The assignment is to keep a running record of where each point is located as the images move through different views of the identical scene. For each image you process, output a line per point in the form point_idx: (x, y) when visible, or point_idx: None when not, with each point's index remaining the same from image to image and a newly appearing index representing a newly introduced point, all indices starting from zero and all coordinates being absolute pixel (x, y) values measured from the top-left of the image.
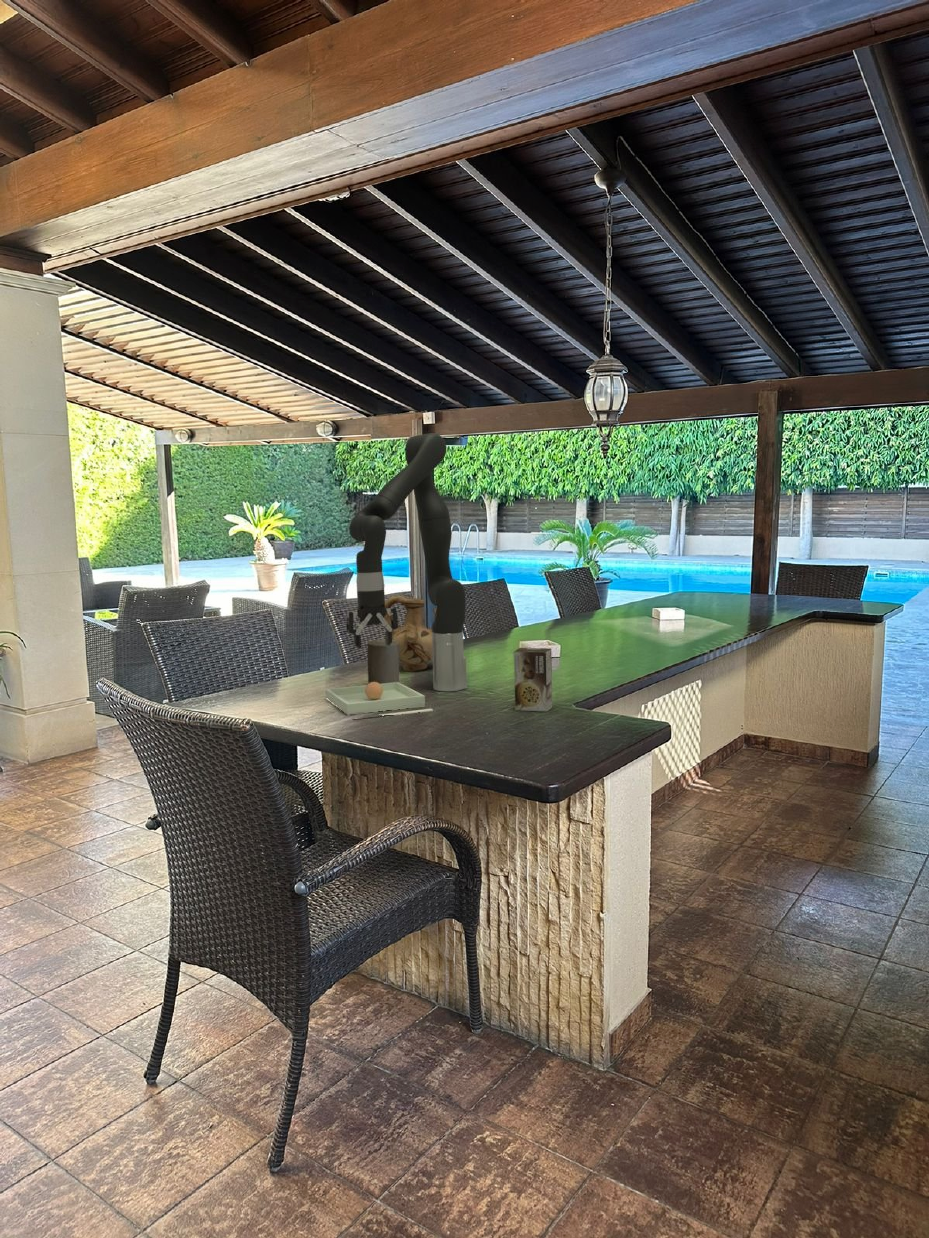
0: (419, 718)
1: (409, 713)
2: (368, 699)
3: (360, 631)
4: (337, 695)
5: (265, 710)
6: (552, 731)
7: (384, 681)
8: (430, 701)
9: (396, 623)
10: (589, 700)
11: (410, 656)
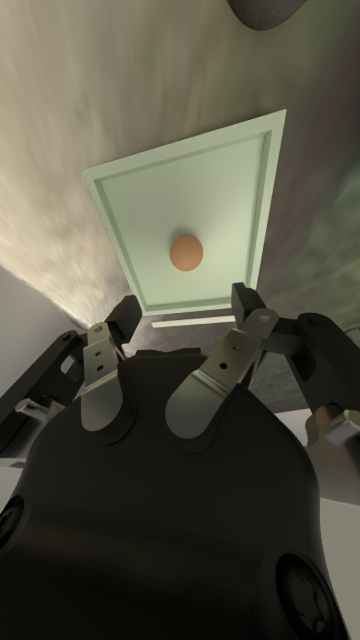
0: (217, 339)
1: (215, 321)
2: None
3: (123, 355)
4: (122, 256)
5: (21, 242)
6: (287, 388)
7: (268, 1)
8: (274, 267)
9: (310, 370)
10: None
11: None
